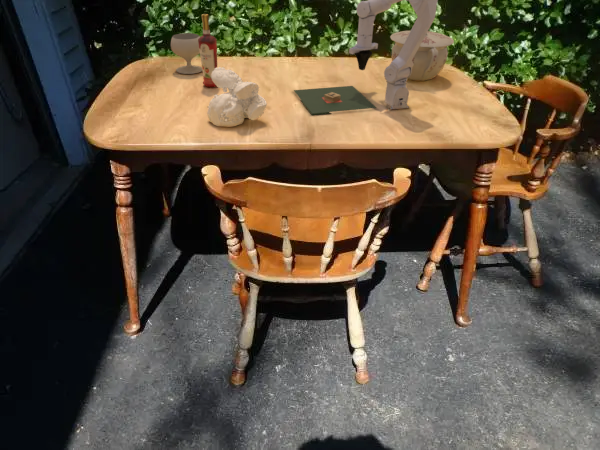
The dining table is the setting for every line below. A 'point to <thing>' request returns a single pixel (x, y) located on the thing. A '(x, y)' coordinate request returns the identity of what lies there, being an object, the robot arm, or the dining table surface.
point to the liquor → (207, 52)
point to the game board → (318, 106)
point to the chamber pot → (424, 54)
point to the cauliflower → (234, 100)
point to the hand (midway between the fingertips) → (361, 69)
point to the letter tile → (332, 97)
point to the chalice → (186, 51)
